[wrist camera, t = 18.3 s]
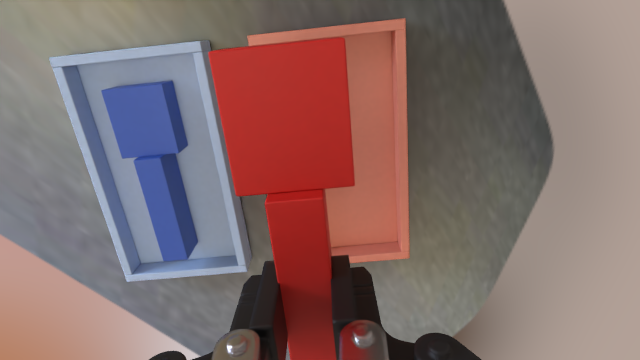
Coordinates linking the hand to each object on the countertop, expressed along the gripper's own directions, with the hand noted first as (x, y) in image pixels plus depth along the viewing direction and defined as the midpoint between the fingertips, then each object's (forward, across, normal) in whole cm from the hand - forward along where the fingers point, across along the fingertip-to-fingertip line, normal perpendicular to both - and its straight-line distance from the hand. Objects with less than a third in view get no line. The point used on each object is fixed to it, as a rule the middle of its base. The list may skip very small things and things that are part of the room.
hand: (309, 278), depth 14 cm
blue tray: (+14, +10, -1) cm, 17 cm away
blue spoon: (+13, +10, -1) cm, 17 cm away
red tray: (+14, -2, -1) cm, 14 cm away
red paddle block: (+1, 0, -2) cm, 3 cm away
